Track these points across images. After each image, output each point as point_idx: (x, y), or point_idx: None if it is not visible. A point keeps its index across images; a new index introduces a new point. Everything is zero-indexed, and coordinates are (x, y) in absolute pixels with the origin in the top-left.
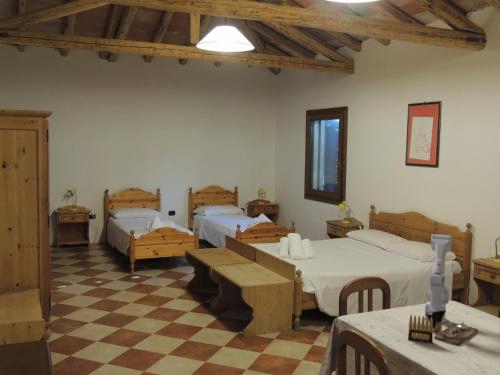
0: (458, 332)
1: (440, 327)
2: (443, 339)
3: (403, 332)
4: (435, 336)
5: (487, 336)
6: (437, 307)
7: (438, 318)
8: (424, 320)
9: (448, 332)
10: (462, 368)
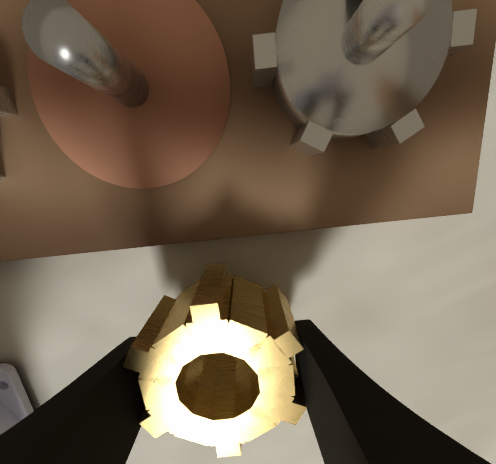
0: None
1: (224, 285)
2: (482, 89)
3: (468, 439)
4: (465, 202)
5: None
6: None
7: (100, 440)
8: None
9: (342, 94)
10: None
